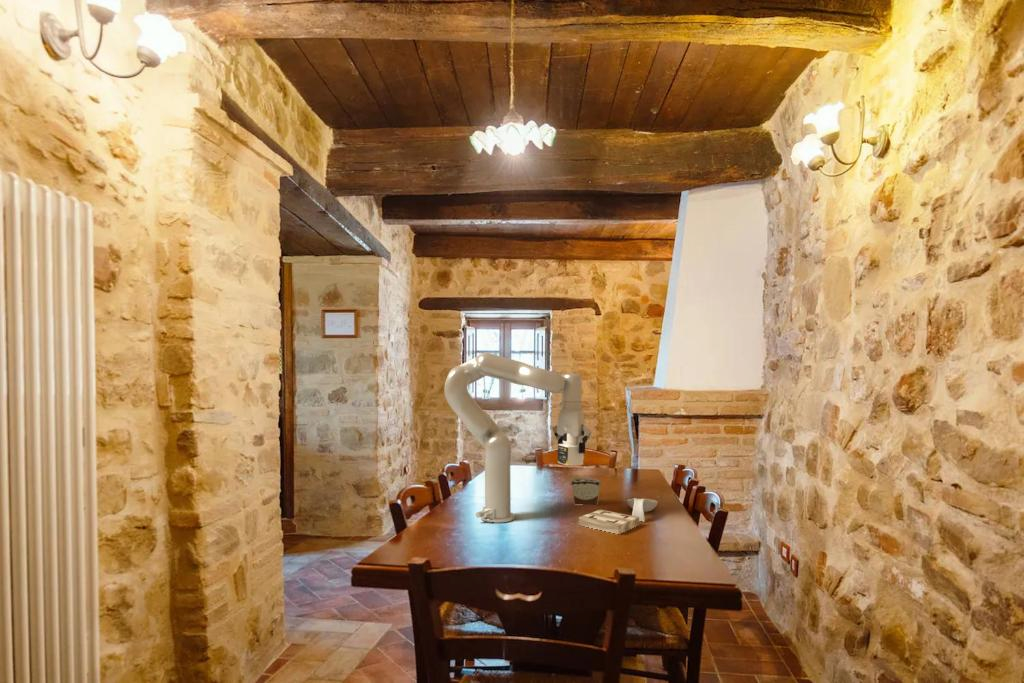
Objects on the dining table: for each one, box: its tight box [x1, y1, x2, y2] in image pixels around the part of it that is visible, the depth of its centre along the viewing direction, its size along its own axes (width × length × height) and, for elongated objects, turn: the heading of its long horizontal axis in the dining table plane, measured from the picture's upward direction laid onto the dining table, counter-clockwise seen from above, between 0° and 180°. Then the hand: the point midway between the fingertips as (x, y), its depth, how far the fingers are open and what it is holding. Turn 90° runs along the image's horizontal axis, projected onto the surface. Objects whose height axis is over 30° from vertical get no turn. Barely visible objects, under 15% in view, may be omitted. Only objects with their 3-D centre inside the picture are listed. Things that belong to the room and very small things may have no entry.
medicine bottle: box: [557, 433, 584, 467], centre depth 207 cm, size 7×7×12 cm
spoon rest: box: [626, 497, 658, 523], centre depth 209 cm, size 24×12×7 cm, turn 163°
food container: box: [570, 477, 602, 506], centre depth 225 cm, size 12×6×10 cm, turn 84°
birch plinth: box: [578, 509, 640, 535], centre depth 193 cm, size 14×16×3 cm
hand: (571, 451), depth 207 cm, fingers closed on medicine bottle, 9 cm apart
